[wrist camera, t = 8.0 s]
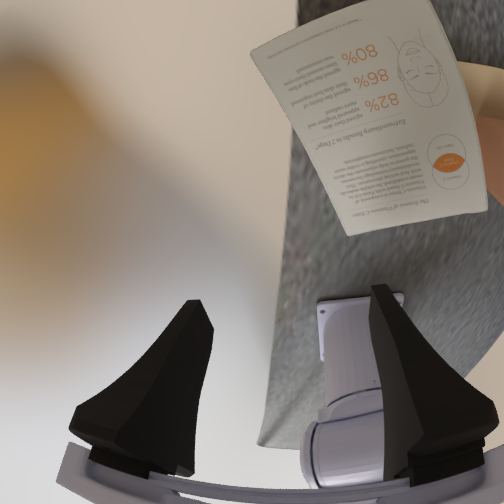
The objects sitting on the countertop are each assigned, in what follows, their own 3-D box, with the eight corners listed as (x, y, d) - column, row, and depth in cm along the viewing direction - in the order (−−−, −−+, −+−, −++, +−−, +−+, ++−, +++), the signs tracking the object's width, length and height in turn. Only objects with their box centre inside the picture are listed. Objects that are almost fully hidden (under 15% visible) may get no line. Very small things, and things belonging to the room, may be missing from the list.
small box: (280, 40, 14) (354, 185, 19) (243, 52, 10) (344, 240, 15) (407, -5, 9) (466, 161, 14) (425, -16, 6) (490, 214, 11)
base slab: (511, 159, 15) (525, 170, 13) (440, 159, 17) (453, 170, 15) (514, 71, 11) (530, 76, 9) (437, 58, 12) (452, 60, 11)
